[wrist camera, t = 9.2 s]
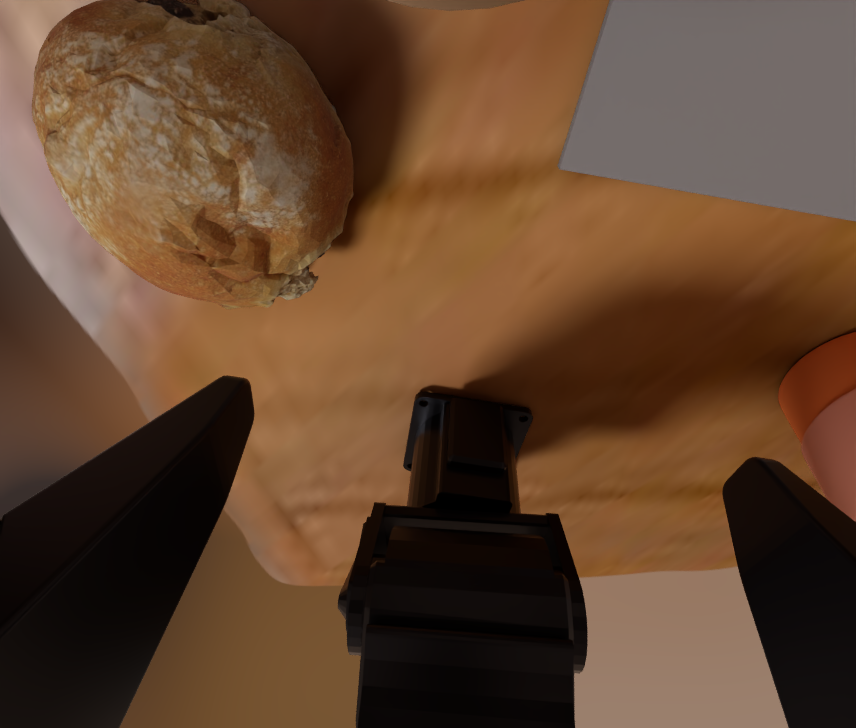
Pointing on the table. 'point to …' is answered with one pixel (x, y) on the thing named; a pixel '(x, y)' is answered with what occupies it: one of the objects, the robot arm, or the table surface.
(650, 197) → the table surface
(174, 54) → the bread roll
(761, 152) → the mat
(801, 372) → the cup with straw
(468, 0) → the lid
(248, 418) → the robot arm
